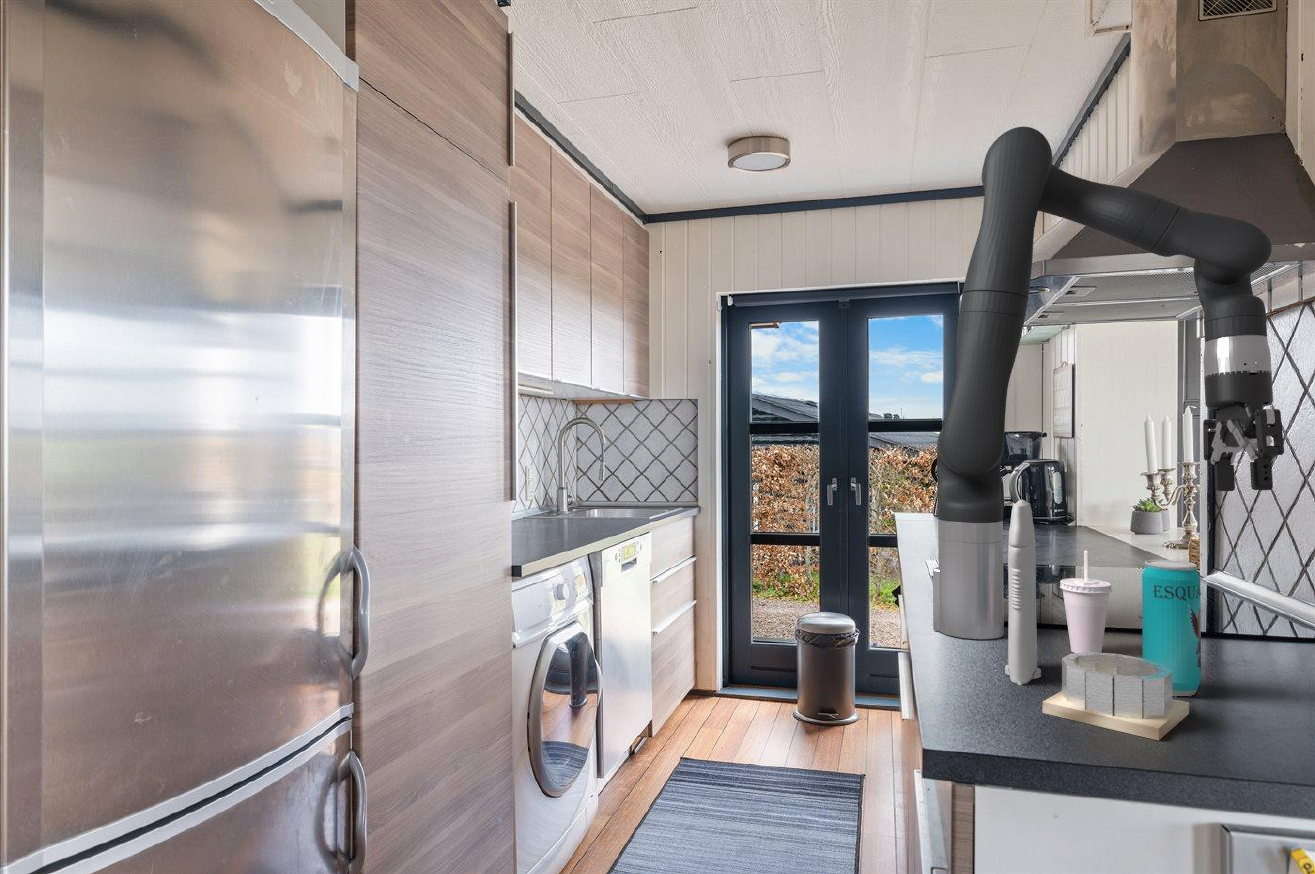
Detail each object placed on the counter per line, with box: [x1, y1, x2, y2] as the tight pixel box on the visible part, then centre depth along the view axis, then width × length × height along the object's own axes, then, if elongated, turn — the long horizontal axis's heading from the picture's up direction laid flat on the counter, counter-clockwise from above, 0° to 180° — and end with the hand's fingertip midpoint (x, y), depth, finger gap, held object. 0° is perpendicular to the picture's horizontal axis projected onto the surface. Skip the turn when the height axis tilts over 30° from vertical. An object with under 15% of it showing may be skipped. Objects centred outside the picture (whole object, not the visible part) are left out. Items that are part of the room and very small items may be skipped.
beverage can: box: [1141, 559, 1202, 697], centre depth 93 cm, size 6×6×15 cm
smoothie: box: [1059, 549, 1113, 654], centre depth 110 cm, size 6×6×14 cm
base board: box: [1042, 690, 1190, 741], centre depth 86 cm, size 11×11×1 cm
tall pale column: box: [1004, 499, 1042, 686], centre depth 100 cm, size 11×4×22 cm, turn 149°
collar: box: [1061, 652, 1173, 719], centre depth 86 cm, size 10×10×4 cm
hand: (1243, 490), depth 108 cm, fingers open, 8 cm apart
